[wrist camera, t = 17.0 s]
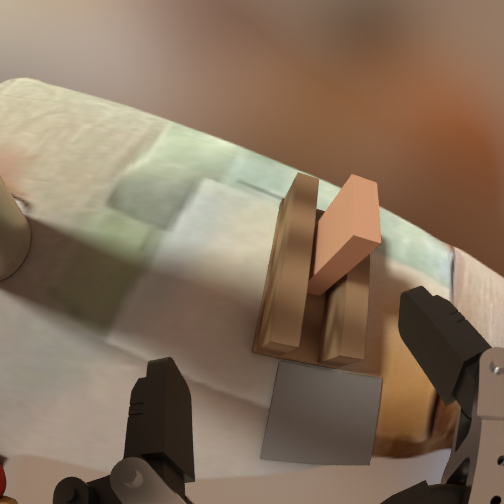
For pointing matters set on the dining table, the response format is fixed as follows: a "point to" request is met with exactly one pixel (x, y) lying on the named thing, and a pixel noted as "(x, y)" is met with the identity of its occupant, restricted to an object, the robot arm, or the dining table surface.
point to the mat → (321, 416)
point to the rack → (302, 303)
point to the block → (344, 234)
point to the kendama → (0, 501)
